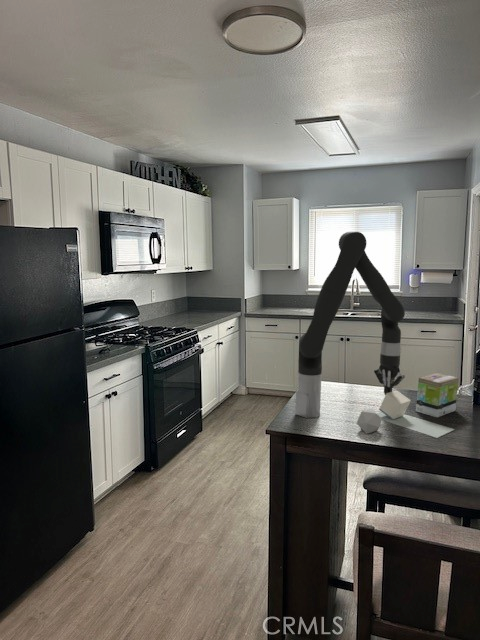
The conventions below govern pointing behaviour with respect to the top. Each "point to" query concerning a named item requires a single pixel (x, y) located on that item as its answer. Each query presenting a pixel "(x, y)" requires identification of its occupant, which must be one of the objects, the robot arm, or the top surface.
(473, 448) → the top surface
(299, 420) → the top surface
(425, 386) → the tea box
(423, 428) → the mat
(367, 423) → the die
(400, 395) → the cream block
